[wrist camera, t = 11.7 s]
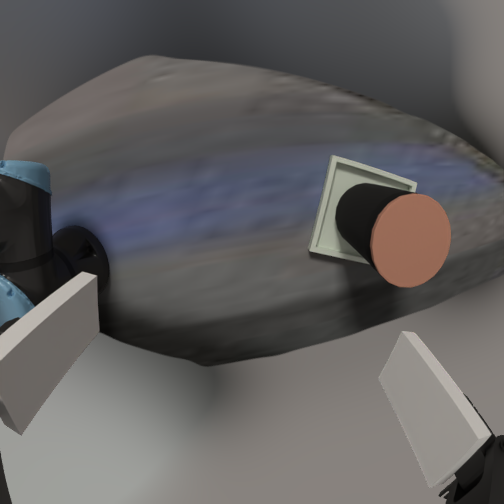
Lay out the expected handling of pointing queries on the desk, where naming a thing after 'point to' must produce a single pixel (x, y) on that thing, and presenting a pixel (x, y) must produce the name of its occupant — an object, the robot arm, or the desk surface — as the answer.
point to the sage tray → (336, 184)
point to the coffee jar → (395, 231)
